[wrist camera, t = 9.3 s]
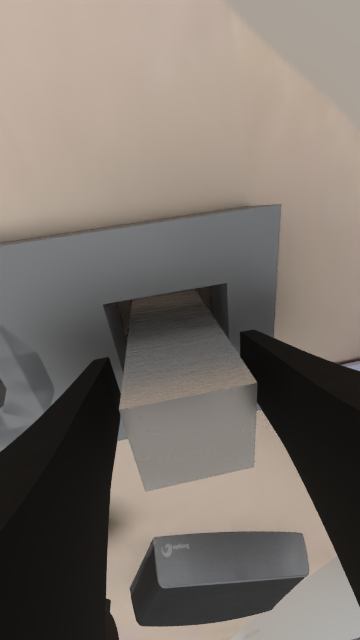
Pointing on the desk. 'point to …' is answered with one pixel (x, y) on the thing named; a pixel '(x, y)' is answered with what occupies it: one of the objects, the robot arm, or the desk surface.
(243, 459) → the square peg
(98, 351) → the socket plate
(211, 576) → the external hard drive
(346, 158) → the desk surface
